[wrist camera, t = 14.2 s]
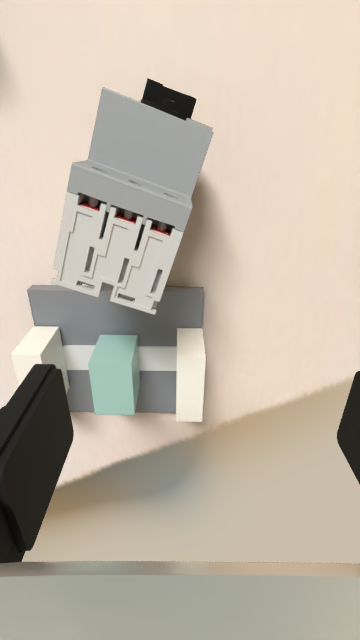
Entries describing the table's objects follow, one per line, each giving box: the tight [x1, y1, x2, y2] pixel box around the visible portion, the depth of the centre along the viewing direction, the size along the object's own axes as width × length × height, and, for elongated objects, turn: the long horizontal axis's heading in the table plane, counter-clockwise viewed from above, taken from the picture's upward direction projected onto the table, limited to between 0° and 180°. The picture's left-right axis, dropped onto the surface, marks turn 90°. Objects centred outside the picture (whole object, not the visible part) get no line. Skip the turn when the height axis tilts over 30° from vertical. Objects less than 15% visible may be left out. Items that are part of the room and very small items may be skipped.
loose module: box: [88, 335, 140, 415], centre depth 39 cm, size 4×7×6 cm, turn 179°
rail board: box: [11, 285, 206, 422], centre depth 40 cm, size 20×18×8 cm
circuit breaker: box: [51, 79, 214, 315], centre depth 27 cm, size 8×14×15 cm, turn 161°
